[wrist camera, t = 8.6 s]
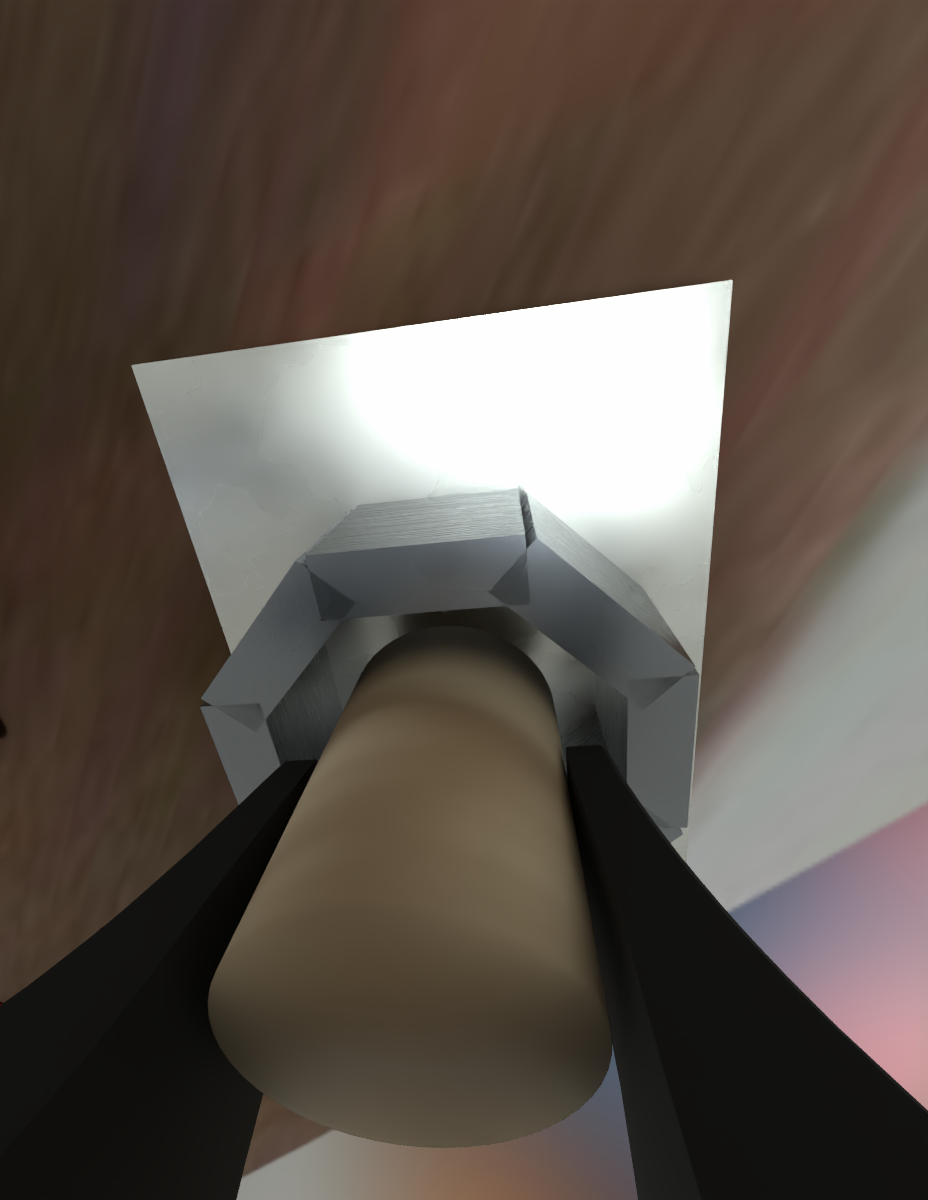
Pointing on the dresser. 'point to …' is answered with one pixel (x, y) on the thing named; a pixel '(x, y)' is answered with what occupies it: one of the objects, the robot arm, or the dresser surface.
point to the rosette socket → (461, 517)
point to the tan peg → (425, 914)
